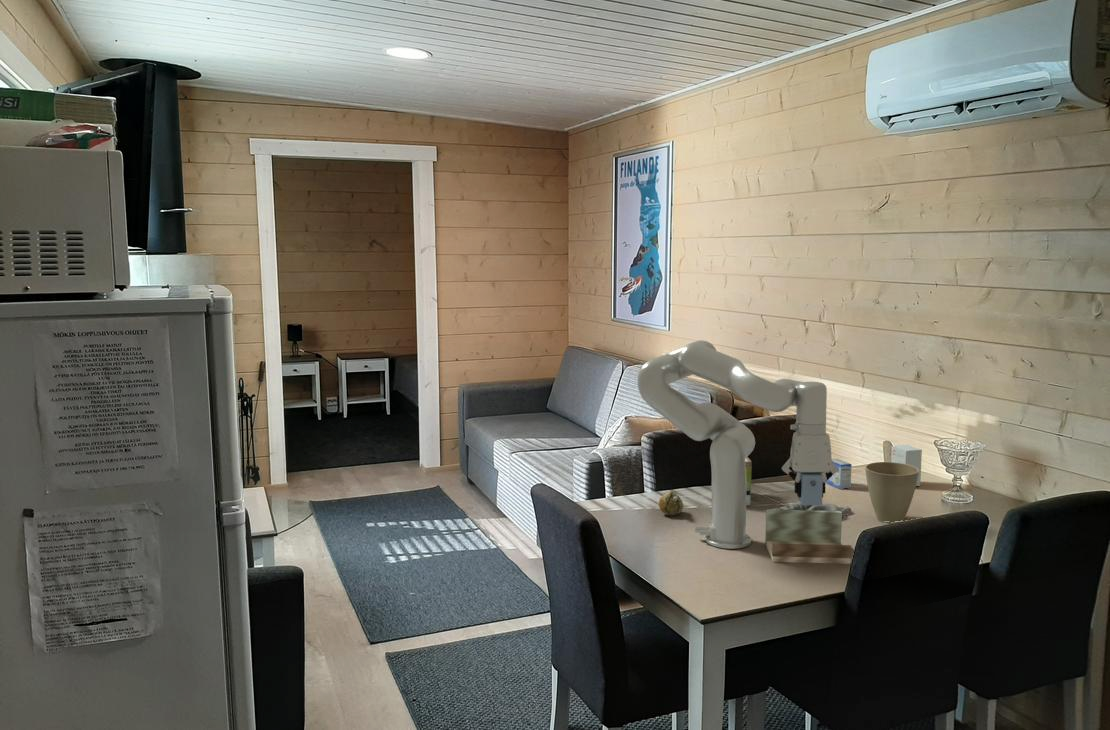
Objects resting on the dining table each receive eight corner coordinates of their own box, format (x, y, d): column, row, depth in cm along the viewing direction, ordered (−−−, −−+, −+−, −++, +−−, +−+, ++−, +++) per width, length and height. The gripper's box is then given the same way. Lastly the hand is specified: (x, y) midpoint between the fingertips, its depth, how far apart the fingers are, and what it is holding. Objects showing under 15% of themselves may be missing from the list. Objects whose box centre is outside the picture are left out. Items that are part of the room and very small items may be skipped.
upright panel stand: (772, 561, 216) (773, 525, 215) (765, 544, 229) (766, 509, 228) (851, 563, 214) (852, 526, 213) (839, 545, 227) (840, 510, 226)
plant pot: (878, 508, 258) (880, 459, 256) (925, 519, 247) (927, 468, 245) (853, 519, 249) (855, 468, 246) (901, 531, 238) (904, 477, 235)
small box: (920, 486, 281) (922, 449, 279) (904, 488, 279) (906, 450, 277) (905, 480, 288) (907, 444, 286) (889, 481, 287) (891, 445, 285)
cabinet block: (803, 505, 216) (803, 476, 215) (797, 497, 223) (798, 468, 222) (822, 506, 215) (823, 476, 214) (816, 497, 223) (817, 468, 221)
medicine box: (825, 483, 286) (826, 459, 285) (836, 482, 288) (837, 458, 286) (839, 489, 279) (840, 464, 278) (851, 488, 280) (852, 463, 279)
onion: (688, 513, 257) (689, 488, 255) (675, 520, 250) (675, 494, 249) (667, 508, 261) (668, 484, 260) (654, 515, 255) (654, 490, 254)
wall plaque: (823, 534, 237) (823, 521, 237) (764, 520, 251) (765, 507, 250) (860, 515, 254) (860, 503, 253) (803, 502, 267) (804, 490, 267)
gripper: (780, 432, 214) (779, 499, 216) (847, 431, 212) (846, 500, 215) (775, 425, 221) (774, 491, 224) (840, 425, 219) (839, 491, 222)
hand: (809, 495), depth 219 cm, fingers closed on cabinet block, 5 cm apart
